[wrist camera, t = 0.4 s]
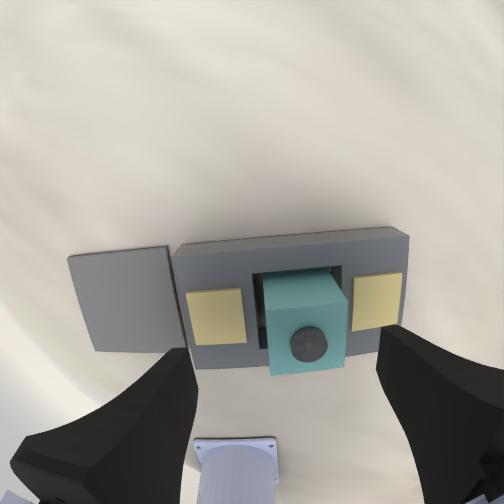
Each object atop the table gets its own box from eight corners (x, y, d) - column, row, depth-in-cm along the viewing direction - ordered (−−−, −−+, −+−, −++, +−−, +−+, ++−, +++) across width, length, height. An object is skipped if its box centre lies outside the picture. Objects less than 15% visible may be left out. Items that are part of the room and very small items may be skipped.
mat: (187, 349, 22) (187, 352, 21) (97, 348, 22) (95, 351, 22) (167, 246, 20) (165, 247, 19) (69, 256, 20) (66, 258, 19)
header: (385, 329, 21) (399, 349, 19) (200, 349, 22) (194, 372, 19) (392, 226, 19) (411, 237, 16) (181, 244, 20) (170, 258, 17)
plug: (323, 315, 21) (346, 373, 15) (266, 321, 21) (271, 382, 15) (322, 261, 20) (351, 307, 14) (262, 267, 20) (265, 316, 14)
